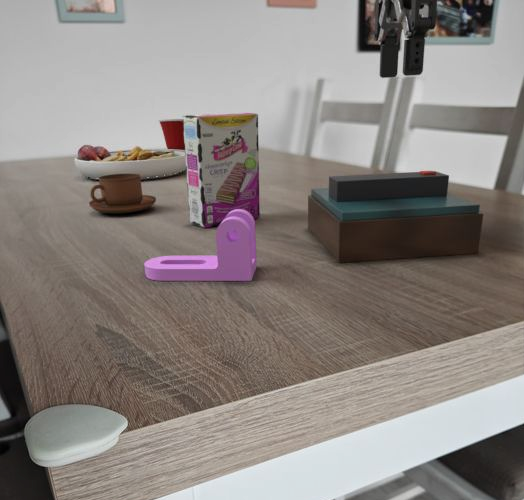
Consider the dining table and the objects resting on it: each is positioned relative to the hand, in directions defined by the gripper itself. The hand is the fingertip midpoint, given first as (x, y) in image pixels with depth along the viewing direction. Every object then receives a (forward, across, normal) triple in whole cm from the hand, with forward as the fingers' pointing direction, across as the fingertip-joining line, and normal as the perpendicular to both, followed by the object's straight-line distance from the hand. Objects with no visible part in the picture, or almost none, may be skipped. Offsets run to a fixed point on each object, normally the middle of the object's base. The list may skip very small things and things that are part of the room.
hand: (399, 76), depth 69 cm
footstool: (+20, 0, +1) cm, 21 cm away
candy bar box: (+20, +18, +22) cm, 35 cm away
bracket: (+20, -10, +27) cm, 35 cm away
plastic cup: (+20, +120, +30) cm, 125 cm away
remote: (+14, 0, +1) cm, 15 cm away
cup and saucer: (+20, +32, +40) cm, 55 cm away
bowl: (+20, +83, +42) cm, 95 cm away
